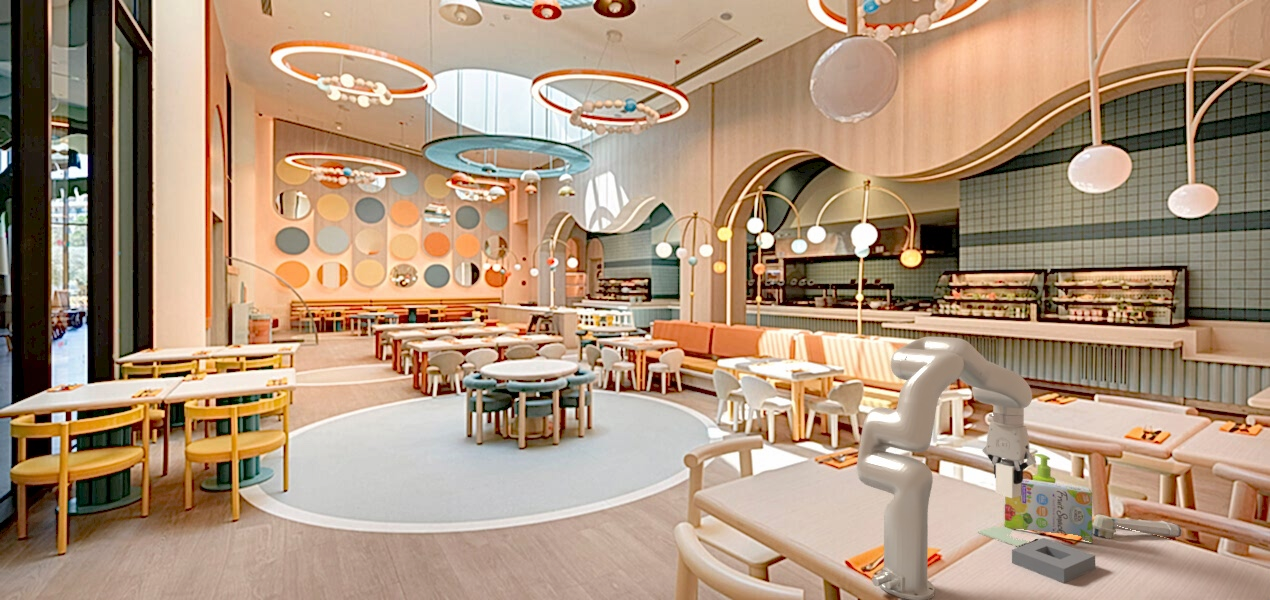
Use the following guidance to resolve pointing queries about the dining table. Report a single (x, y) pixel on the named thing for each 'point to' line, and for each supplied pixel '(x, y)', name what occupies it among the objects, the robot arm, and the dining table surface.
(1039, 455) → the soap dispenser
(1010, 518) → the snack box
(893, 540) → the robot arm
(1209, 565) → the dining table surface
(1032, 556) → the grey rectangular frame block
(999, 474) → the plug
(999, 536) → the mat
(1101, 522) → the hair straightener
